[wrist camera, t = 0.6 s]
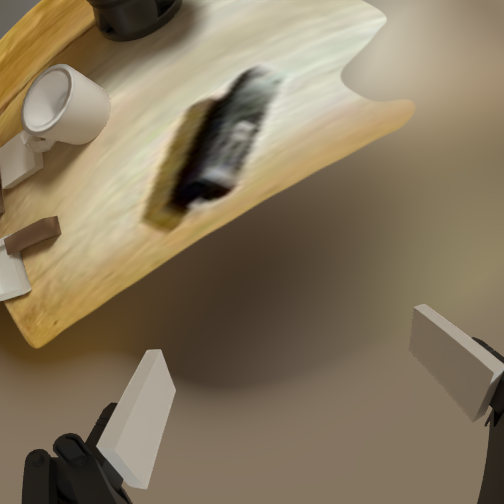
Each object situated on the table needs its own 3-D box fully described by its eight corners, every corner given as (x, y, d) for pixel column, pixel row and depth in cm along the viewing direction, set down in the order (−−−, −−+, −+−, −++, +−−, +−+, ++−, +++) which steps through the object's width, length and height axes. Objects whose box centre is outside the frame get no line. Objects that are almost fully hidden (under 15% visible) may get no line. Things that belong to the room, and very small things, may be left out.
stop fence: (17, 235, 37) (3, 239, 33) (57, 215, 37) (42, 218, 33) (21, 250, 38) (7, 255, 34) (61, 233, 37) (47, 237, 34)
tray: (-11, 247, 37) (-19, 250, 35) (15, 233, 37) (6, 235, 35) (4, 298, 40) (-3, 302, 37) (31, 289, 39) (24, 294, 37)
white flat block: (8, 150, 34) (-2, 149, 31) (41, 126, 34) (31, 124, 31) (12, 188, 36) (2, 188, 33) (45, 167, 35) (35, 166, 33)
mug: (65, 173, 36) (23, 171, 25) (41, 134, 34) (1, 126, 23) (122, 110, 34) (88, 89, 24) (93, 75, 32) (59, 51, 22)
